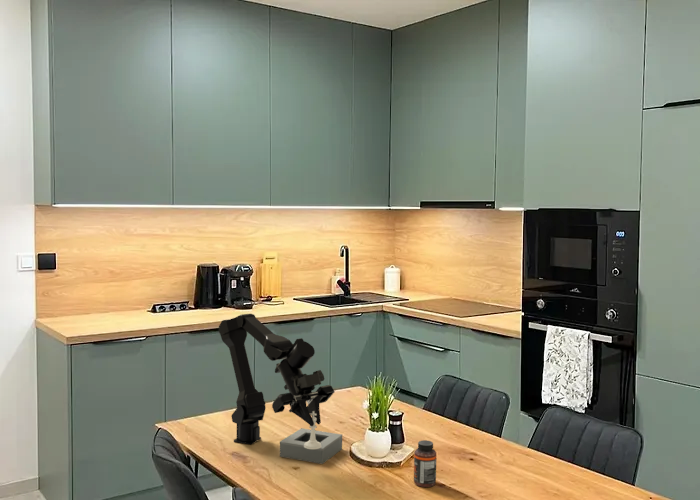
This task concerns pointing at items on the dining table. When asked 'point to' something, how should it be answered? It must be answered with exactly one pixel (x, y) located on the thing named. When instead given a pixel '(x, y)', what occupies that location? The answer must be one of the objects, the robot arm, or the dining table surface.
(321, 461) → the gray square open box
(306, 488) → the dining table surface
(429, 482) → the supplement bottle
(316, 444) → the chess piece
